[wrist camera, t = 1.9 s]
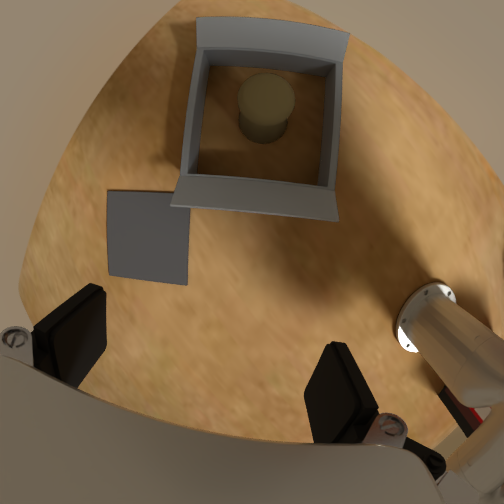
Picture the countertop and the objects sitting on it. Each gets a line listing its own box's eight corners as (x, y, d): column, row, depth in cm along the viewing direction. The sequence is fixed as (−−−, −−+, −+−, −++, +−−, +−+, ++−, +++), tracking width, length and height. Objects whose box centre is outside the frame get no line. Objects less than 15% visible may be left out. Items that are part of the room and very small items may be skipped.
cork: (297, 118, 31) (316, 91, 20) (267, 153, 32) (273, 140, 21) (258, 90, 30) (260, 52, 19) (228, 124, 31) (216, 99, 20)
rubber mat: (191, 194, 33) (190, 194, 33) (187, 284, 36) (186, 285, 36) (109, 191, 33) (107, 191, 32) (110, 274, 36) (109, 275, 36)
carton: (331, 58, 28) (349, 32, 20) (320, 213, 34) (338, 222, 26) (207, 45, 28) (196, 16, 20) (188, 200, 33) (170, 206, 26)
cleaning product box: (474, 332, 39) (531, 385, 20) (493, 334, 39) (545, 379, 20) (438, 395, 43) (477, 454, 24) (460, 392, 43) (498, 444, 24)
